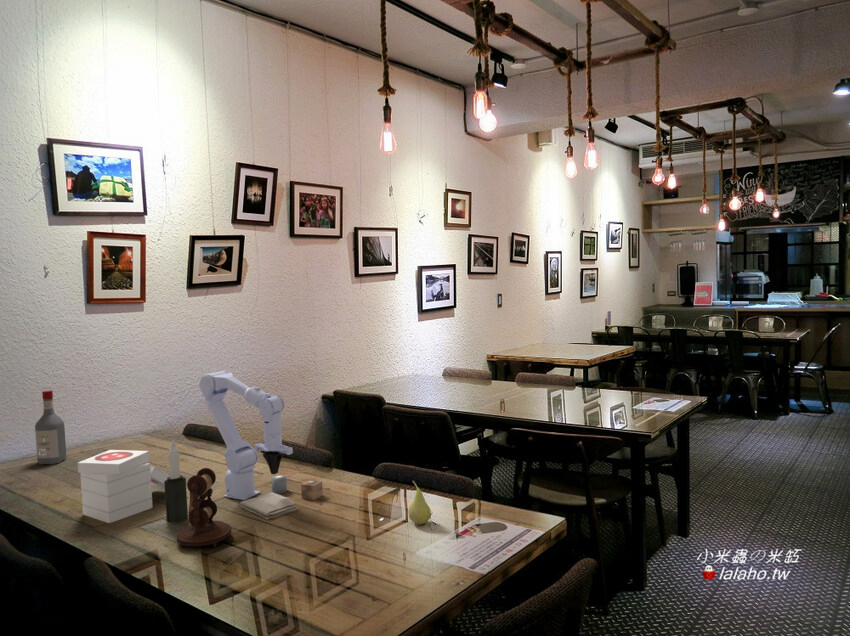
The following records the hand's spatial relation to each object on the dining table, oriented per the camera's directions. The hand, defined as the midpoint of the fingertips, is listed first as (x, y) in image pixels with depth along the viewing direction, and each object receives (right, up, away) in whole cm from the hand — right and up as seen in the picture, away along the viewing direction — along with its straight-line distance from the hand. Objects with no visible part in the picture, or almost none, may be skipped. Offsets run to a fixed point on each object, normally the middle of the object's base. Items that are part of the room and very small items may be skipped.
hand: (274, 473), depth 209 cm
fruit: (+48, -10, -22) cm, 54 cm away
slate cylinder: (-1, -9, +10) cm, 13 cm away
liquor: (-107, -9, +55) cm, 120 cm away
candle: (-27, -11, -13) cm, 32 cm away
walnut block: (+12, -9, +4) cm, 15 cm away
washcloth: (0, -11, -6) cm, 12 cm away
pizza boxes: (-47, -11, 0) cm, 48 cm away
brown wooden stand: (-13, -12, -30) cm, 34 cm away
